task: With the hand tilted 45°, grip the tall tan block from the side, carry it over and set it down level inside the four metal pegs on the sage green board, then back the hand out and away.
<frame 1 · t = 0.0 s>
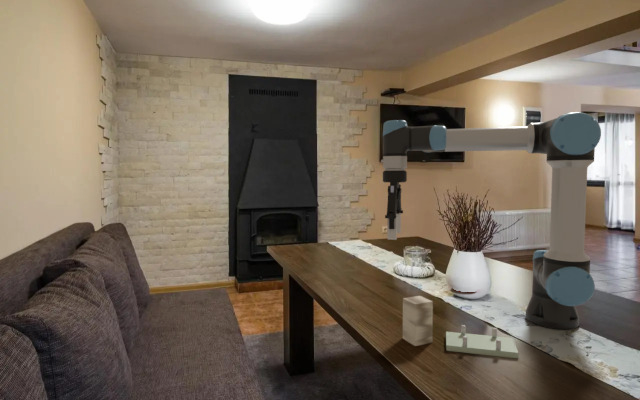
hand: (394, 236, 134), 28 cm above the table, tool pointing down, fingers open, 13 cm apart
tan block: (417, 340, 121), on the table
peg board: (479, 346, 116), on the table
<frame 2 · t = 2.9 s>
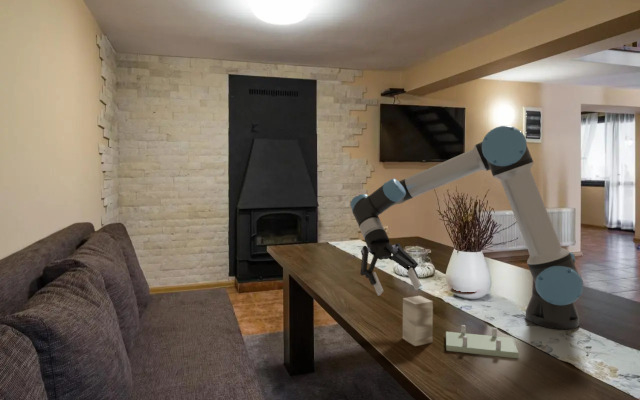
hand: (399, 290, 127), 13 cm above the table, tool tilted 45°, fingers open, 13 cm apart
nothing on the table moved.
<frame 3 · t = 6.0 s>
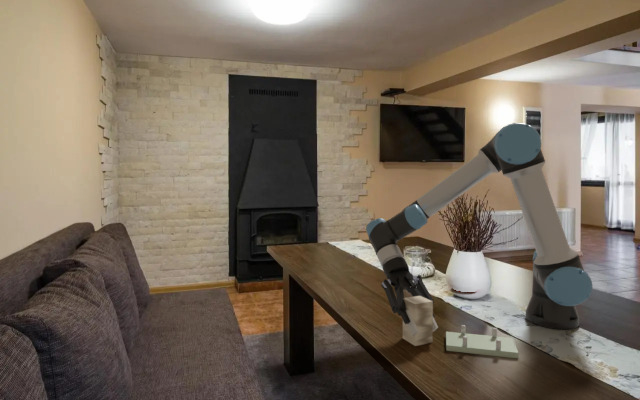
hand: (425, 331, 117), 4 cm above the table, tool tilted 45°, fingers closed on tan block, 6 cm apart
tan block: (417, 340, 121), on the table, touching gripper
everything else where it was.
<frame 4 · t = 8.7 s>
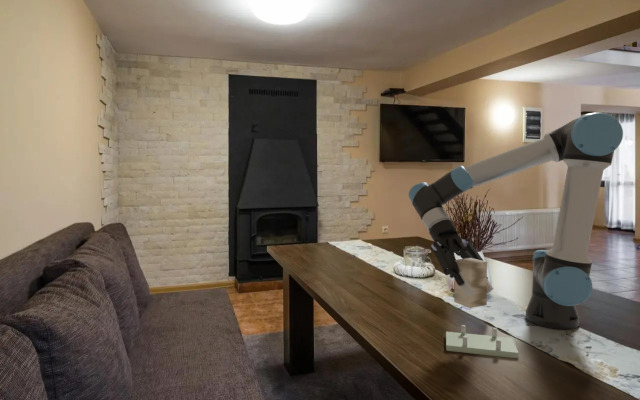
hand: (480, 293, 112), 16 cm above the table, tool tilted 45°, fingers closed on tan block, 6 cm apart
tan block: (470, 303, 116), point 12 cm above the table, touching gripper
everything else where it was.
when the fingers open (7 cm above the table, at t = 11.5 s): tan block drops 1 cm, resting on peg board.
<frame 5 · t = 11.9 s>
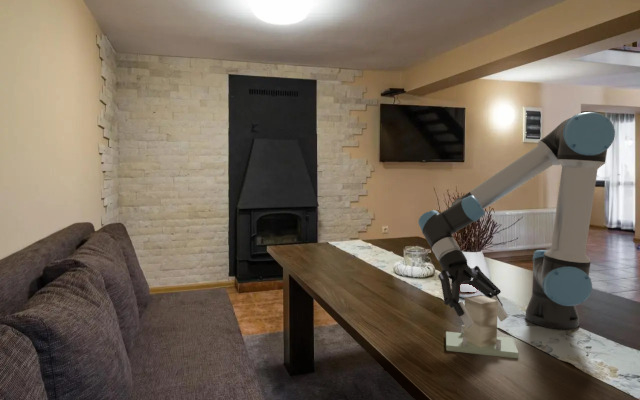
hand: (488, 322, 113), 8 cm above the table, tool tilted 45°, fingers open, 11 cm apart
tan block: (480, 341, 116), point 1 cm above the table, touching peg board
everything else where it was.
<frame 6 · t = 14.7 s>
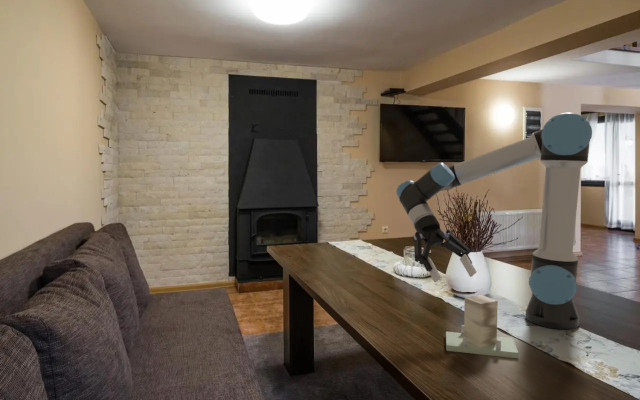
hand: (456, 277, 123), 17 cm above the table, tool tilted 45°, fingers open, 13 cm apart
nothing on the table moved.
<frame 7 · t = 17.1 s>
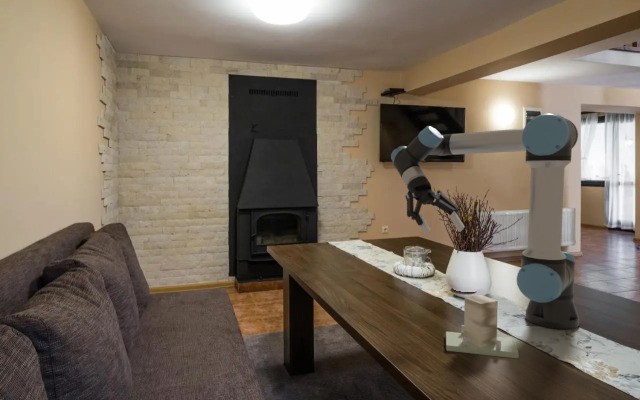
hand: (445, 231, 133), 30 cm above the table, tool tilted 45°, fingers open, 13 cm apart
nothing on the table moved.
at the end: tan block 0.1 cm off-centre on the peg board, point 1.5 cm above the peg board's base; tan block tilted 0°; the gripper is holding nothing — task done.
